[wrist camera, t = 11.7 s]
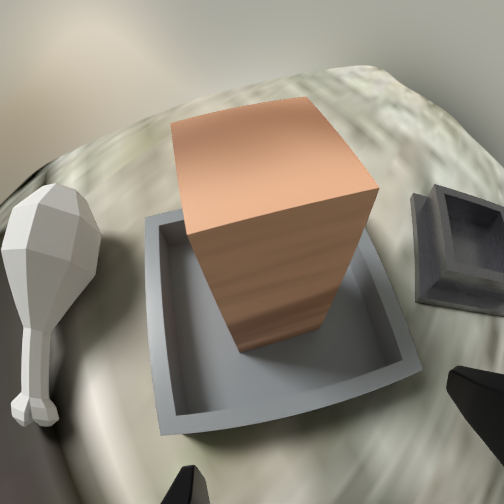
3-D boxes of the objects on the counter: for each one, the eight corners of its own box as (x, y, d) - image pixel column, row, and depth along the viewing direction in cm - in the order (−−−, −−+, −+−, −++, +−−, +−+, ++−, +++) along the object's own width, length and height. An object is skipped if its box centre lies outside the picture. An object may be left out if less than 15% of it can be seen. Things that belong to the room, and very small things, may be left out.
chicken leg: (12, 407, 16) (-33, 422, 9) (35, 214, 22) (6, 165, 15) (97, 426, 19) (77, 457, 11) (113, 224, 25) (104, 173, 18)
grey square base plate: (509, 317, 17) (532, 300, 14) (415, 301, 19) (435, 281, 16) (493, 222, 22) (508, 201, 19) (410, 199, 24) (422, 173, 21)
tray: (398, 379, 16) (422, 370, 13) (180, 433, 15) (160, 435, 12) (332, 209, 23) (339, 179, 20) (160, 245, 23) (145, 217, 20)
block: (319, 328, 17) (379, 187, 7) (239, 352, 17) (187, 234, 7) (293, 260, 20) (306, 96, 10) (220, 280, 19) (170, 123, 9)
